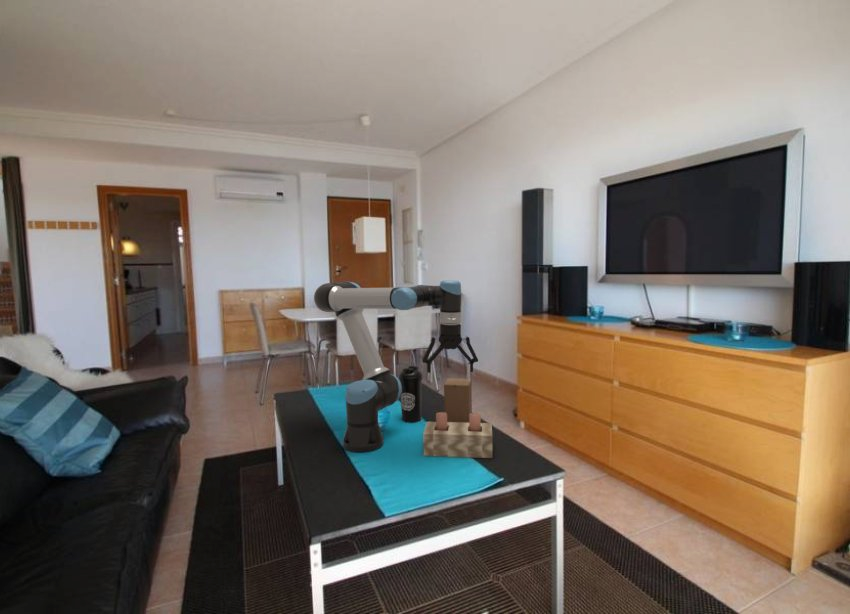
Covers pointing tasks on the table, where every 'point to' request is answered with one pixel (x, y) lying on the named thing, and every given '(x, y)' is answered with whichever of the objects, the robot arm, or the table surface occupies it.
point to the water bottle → (411, 394)
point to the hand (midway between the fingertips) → (449, 381)
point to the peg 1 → (441, 421)
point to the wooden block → (457, 400)
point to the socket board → (458, 440)
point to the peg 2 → (475, 422)
